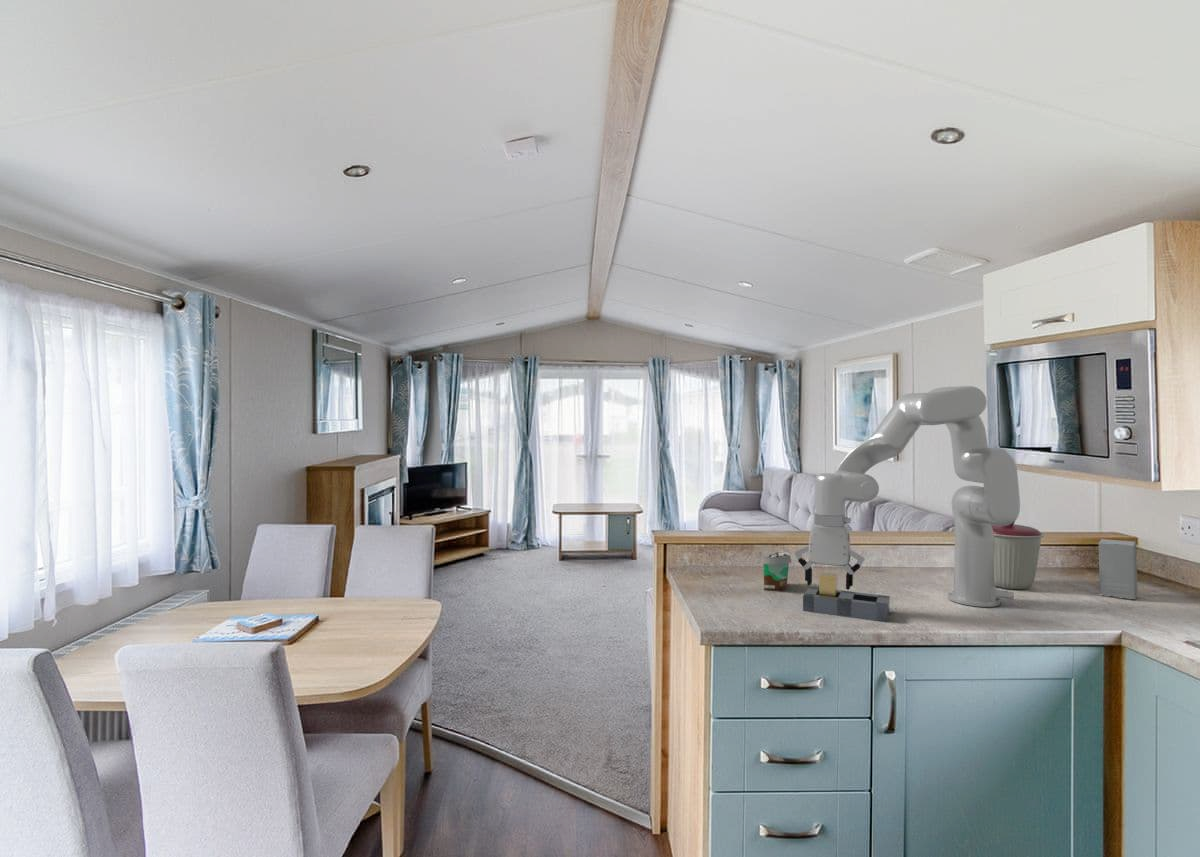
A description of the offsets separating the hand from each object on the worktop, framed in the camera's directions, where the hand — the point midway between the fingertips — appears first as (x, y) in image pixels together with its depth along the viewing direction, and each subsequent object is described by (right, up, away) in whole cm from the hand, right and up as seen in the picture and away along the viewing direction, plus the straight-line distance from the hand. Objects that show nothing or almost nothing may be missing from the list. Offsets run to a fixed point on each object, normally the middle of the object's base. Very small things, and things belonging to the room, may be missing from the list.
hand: (828, 586), depth 173 cm
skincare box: (+88, -7, +15) cm, 89 cm away
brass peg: (0, -6, 0) cm, 6 cm away
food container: (-7, -6, +20) cm, 22 cm away
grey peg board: (+4, -6, -2) cm, 7 cm away
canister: (+63, -6, +27) cm, 69 cm away
